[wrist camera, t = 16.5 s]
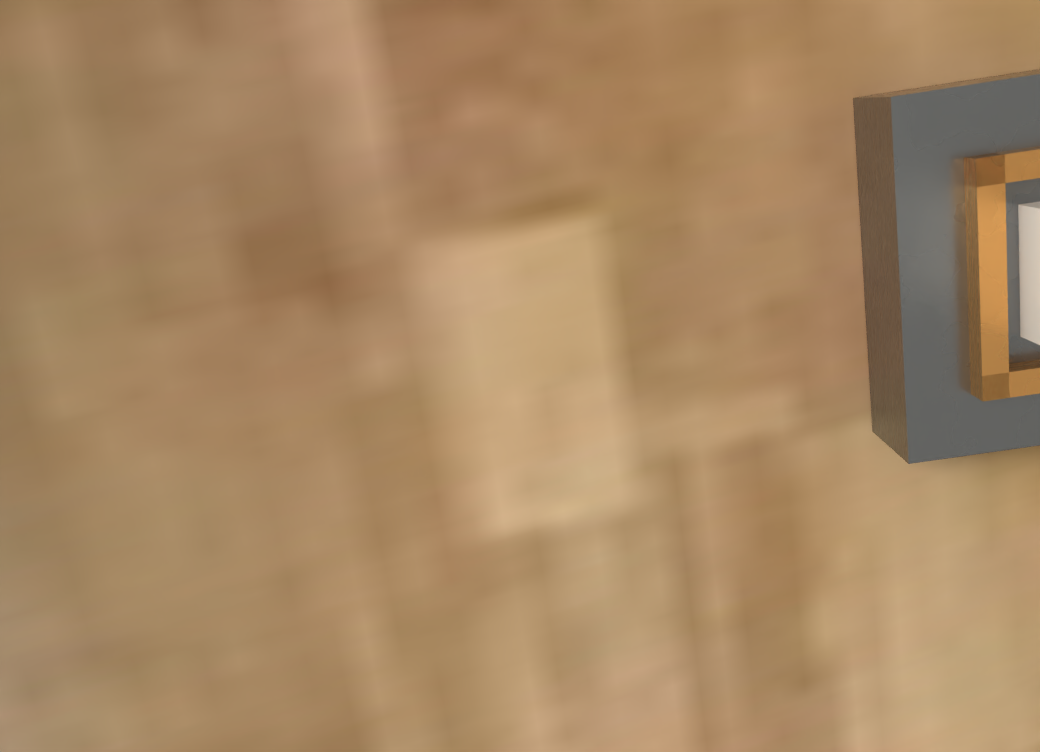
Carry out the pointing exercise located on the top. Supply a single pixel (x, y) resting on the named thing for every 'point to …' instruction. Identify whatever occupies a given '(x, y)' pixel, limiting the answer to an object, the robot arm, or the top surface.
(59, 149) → the top surface
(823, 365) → the top surface
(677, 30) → the top surface
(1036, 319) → the column
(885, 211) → the jig plate
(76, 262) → the top surface
